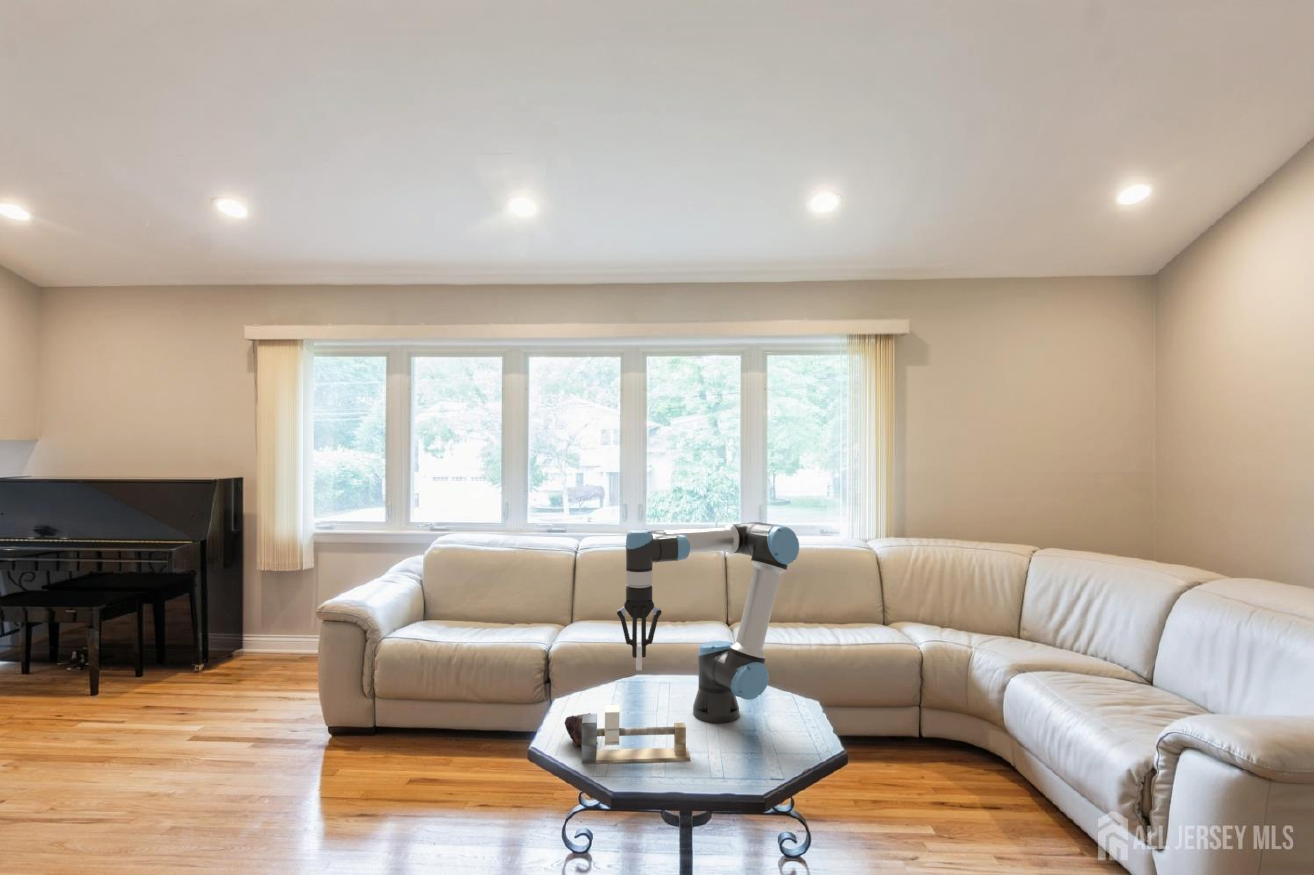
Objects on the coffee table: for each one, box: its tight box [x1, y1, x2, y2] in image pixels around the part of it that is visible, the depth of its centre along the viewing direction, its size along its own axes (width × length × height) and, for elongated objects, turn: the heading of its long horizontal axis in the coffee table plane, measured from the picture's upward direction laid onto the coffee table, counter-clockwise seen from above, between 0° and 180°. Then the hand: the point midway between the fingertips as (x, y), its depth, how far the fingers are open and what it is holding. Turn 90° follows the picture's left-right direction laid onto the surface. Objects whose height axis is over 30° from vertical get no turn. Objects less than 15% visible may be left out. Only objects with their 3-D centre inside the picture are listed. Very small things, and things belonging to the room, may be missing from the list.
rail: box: [581, 713, 691, 764], centre depth 175 cm, size 30×6×11 cm, turn 94°
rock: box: [564, 712, 599, 747], centre depth 184 cm, size 12×9×10 cm
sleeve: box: [604, 704, 620, 746], centre depth 175 cm, size 4×5×9 cm
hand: (639, 668), depth 176 cm, fingers closed
